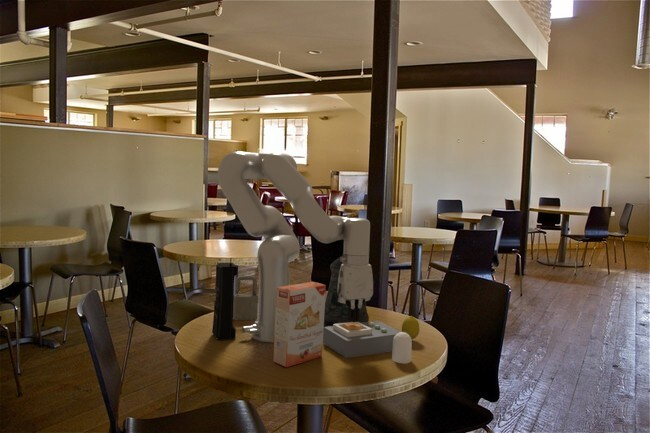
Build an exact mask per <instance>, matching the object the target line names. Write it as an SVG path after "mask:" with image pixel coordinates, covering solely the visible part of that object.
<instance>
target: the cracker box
mask: <svg viewBox="0 0 650 433" xmlns="http://www.w3.org/2000/svg"><path fill="white" fill-rule="evenodd" d="M326 294H327V285H326V284H323V283H319V282H315V281H308V282H302V283H295V284H290V285H289V286H283V287H277V293H276V314H275V334H274V343H273V357H272V358H273V359H272V360H273V361H272V363H276V364H278V365H279V366H283V367H285V368H290V367H292V366H295V365H299V364H301V363H305V362H308V361H311V360H315V359H317V358H320V357H322V356H323V346H324V343H323V329H324V312H325V302H326V297H327V295H326Z"/></svg>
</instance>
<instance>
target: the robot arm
mask: <svg viewBox="0 0 650 433" xmlns="http://www.w3.org/2000/svg"><path fill="white" fill-rule="evenodd" d="M217 180H218V182H217V183H218V185H219V188H220V189H221V191H222V193H223V195H224V196H225V198H226V200H227V201H228V202H229V204H230V206H231V208H232V209H233V211H234V213H235V214H236V216H237V218H238V219H239V221H240V223H241V225H242V226H243V228H244V229H245V231H246V233H247V234H248V235H250V236H251V237H255V238H261V237H263V238H264V240H263V241H262V242H261V243H260V244H259V246H258V250H257V253H256V254H257V266H258V318H257V321H256V320H255V321H254V324H252V325H245V326H244V325H243V326H242V329H241V330H242V333H243V334H244V333H245V334H246V333H249V334H251V335H252V338H253V339H254V340H255V341H259V342H261V343H270V344H274V334H275V314H276V293H277V287H283V286H289V285H291V283H290V282H291V281H290V279H291V278H290V276H291V275H290V269H289V263H291V262H293V261H294V260H296V259H297V258H298V256H299V255H300V250H301V246H300V241H299V240H298V237H297V236H296V234H295V233H294V231H293V229H292V228H291V226H290V225H289V222H288V221H287V220H286V218H285V216H284V215H283V214H282V213H281V211H280V210H279V209H277V208H276V207H274V206H272V205H268V204H267V205H265V204H264V203H262V202H261V201H262V200H260V198H259V196H258V195H257V192H256V191H255V190H254V188H253V187H251V185H250V184H249V183H248V182H247V180H268V181H269V182H270V183H271V184H272V186H274V188H276V190H277V191H278V192H279V193H280V194H281V195H282V196H283V197H284V198H285V199H286V200H287V202H288V203H289V204H290V206H291V209H292V210H293V212H294V214H295V215H296V217H297V219H298V220H299V221H300V222H299V223H301V224H302V226H303V227H304V228H305V229H306V230H307V231H308V232H309V233H310V235H312V237H313V238H315V239H316V240H317V241H318V242H320V243H322V244H331V243H334V242H336V241H341V240H342V241H343V252H344V254H343V253H342V254H343V257H341V256H340V261H343V264H341V268H340V272H339V278H338V289H337V292H338V296H339V297H338V302H340V303H344V304H346V305H347V307H348V319H349V320H350V321H352V322H358V321H359V312H360V308H361V307H362V304H363V303H364V302H369V301H371V298H372V297H373V295H374V278H373V276H374V275H372V273H373V268H372V265H371V264H370V263H369V259H370V236H371V222H370V220H368V219H367V218H364V217H361V218H360V217H344V216H339V215H329V214H327V213H326V212H325V211H324V209H323V208H322V207H321V206H320V204H319V203H318V202H317V200H316V199H315V196H314V191H313V186H312V184H311V183H310V182H309V181H308V180H307V179H306V177H304V176H303V174H301V173H300V171H299V170H298V164H297V162H296V160H295V159H294V157H293V156H291V155H289V154H288V153H281V152H272V153H271V152H270V153H263V152H262V153H261V152H249V151H241V150H240V151H238V150H237V151H232V152H229V153H227V154H226V155H225V156H224V157H223V158H222V159H221V161H220V162H219V166H218V168H217Z"/></svg>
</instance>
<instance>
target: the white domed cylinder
mask: <svg viewBox="0 0 650 433" xmlns="http://www.w3.org/2000/svg"><path fill="white" fill-rule="evenodd" d="M412 340H413V339H411V337H410V336H409V335H408V334H407V333H405V332H402V331H401V332H400V333H397V334H396V335H395V336H394V339H393V349H392V351H391V361H393V362H395V363H398V364H409V363H411V361H412V348H413V347H412V344H413V341H412Z"/></svg>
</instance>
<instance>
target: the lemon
mask: <svg viewBox="0 0 650 433" xmlns="http://www.w3.org/2000/svg"><path fill="white" fill-rule="evenodd" d="M401 332H405V333H407V334H408V335H409V336H410V337H411V339H412V340H414V339H416V338H417V337H418V336H419V334H420V322H419V320H418V319H417V318H416V317H414V316H412V315H410V316H408V317H405V319H403V322H402V324H401Z"/></svg>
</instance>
